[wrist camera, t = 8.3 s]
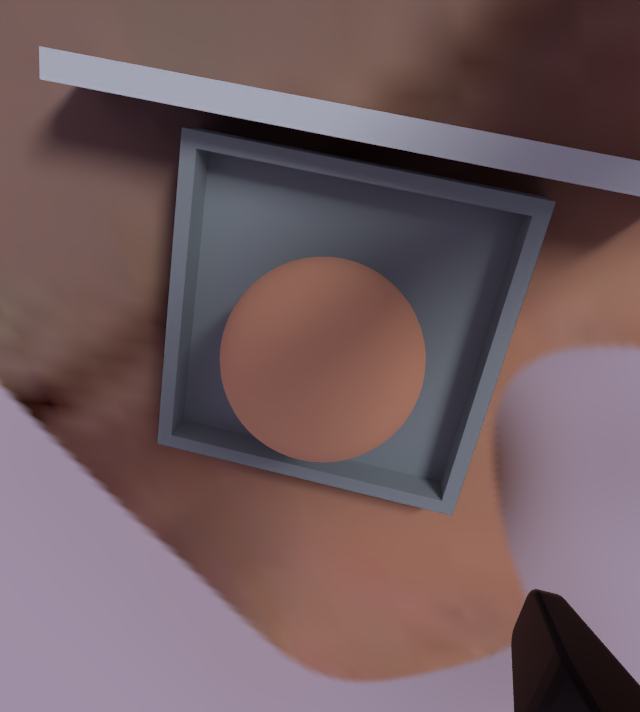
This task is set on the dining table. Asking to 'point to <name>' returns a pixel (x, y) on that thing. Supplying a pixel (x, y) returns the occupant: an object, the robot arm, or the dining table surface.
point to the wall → (343, 121)
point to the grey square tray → (368, 247)
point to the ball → (322, 359)
